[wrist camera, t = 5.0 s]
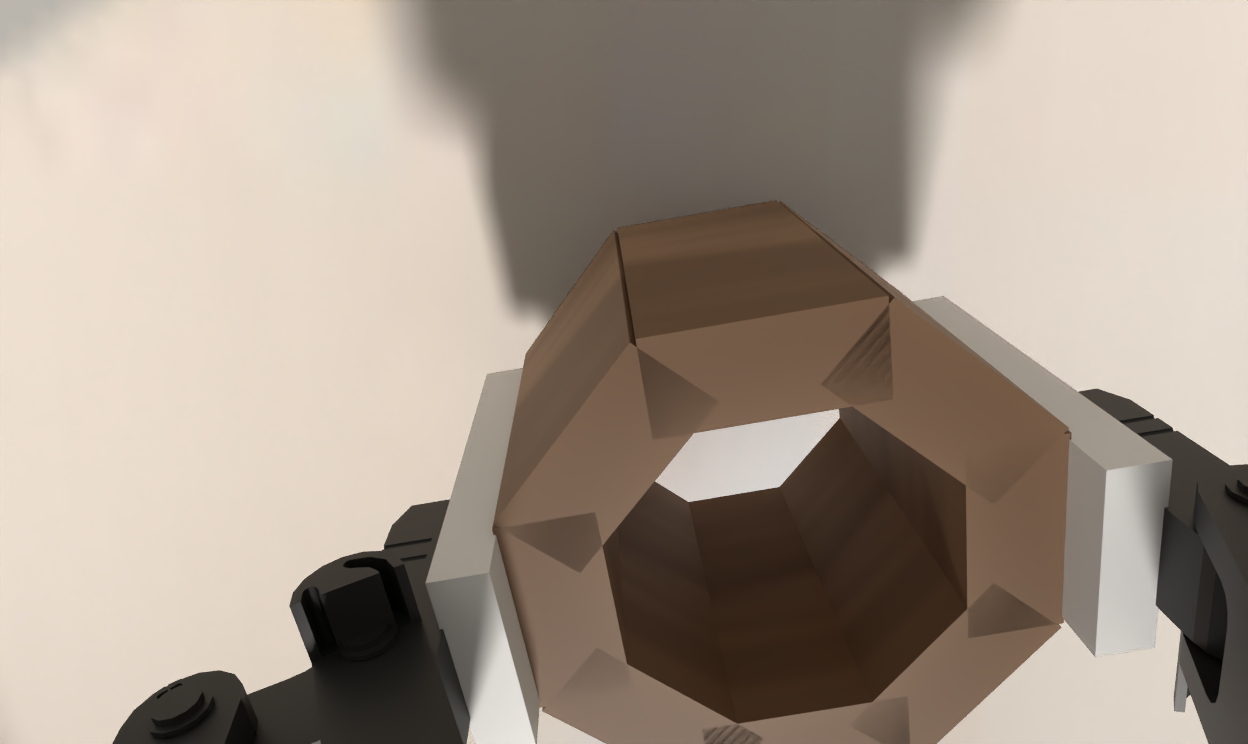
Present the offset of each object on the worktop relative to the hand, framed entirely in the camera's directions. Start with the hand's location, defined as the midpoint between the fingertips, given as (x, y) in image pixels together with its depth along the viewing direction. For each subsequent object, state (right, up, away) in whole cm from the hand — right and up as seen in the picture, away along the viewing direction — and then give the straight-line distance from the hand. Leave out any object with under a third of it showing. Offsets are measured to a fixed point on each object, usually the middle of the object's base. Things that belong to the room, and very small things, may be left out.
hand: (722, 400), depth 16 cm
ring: (0, 0, 0) cm, 0 cm away
